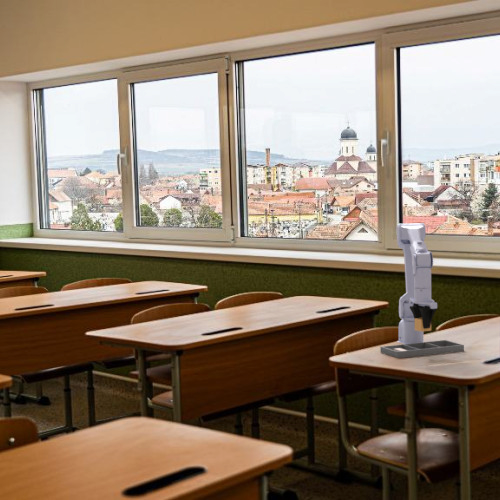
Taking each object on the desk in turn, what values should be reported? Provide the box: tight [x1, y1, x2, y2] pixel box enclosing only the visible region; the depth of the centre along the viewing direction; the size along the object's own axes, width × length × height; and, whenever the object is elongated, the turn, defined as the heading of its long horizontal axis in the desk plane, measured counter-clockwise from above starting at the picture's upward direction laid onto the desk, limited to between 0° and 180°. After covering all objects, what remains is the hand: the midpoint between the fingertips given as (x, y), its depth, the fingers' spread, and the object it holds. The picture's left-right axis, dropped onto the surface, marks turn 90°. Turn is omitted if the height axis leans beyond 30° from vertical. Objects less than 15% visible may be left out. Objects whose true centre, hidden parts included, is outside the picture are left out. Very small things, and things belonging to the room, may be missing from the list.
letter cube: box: [415, 318, 432, 332], centre depth 311 cm, size 4×4×4 cm
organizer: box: [380, 339, 465, 359], centre depth 315 cm, size 11×26×2 cm, turn 112°
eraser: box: [394, 348, 408, 352], centre depth 312 cm, size 5×2×2 cm, turn 22°
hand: (423, 327), depth 311 cm, fingers closed on letter cube, 4 cm apart
